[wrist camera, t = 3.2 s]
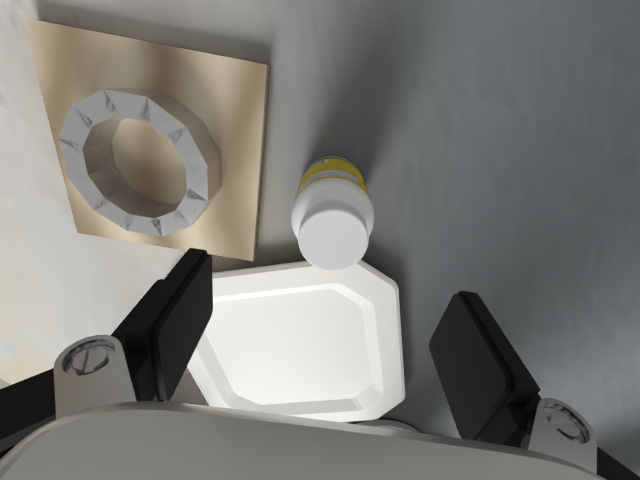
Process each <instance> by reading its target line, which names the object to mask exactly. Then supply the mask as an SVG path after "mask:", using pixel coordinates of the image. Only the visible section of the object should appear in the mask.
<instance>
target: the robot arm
mask: <svg viewBox="0 0 640 480" xmlns="http://www.w3.org/2000/svg"><path fill="white" fill-rule="evenodd" d="M212 312H213V281H212V255H209V254H208V253H207V251H206V250H202V249H196V248H189V249H188V251H187V252H186V253H185V254H184V255H183V257H182V258H181V259H180V260H179V262H178V263H177V264H176V265H175V267H174V268H173V269H172V270H171V272H170V273H169V274H168V275H167V277H166V278H165V279H164V280H163V279H160V280H157V281H156V282H155V283H154V284H153V286H152V287H151V288H150V289H149V290H148V292H147V293H146V294H145V295H144V296H143V298H142V299H141V300H140V301H139V302H138V304H137V305H136V306H135V307H134V308H133V309H132V311H131V312H130V313H129V314H128V315H127V317H126V318H125V319H124V320H123V321H122V323H121V324H120V325H119V326H118V327H117V329H116V330H115V331H114V332H113V333H112V335H111V336H108V335H95V336H91V337H87V338H84V339H82V340H79V341H77V342H75V343H73V344H72V345H70V346H69V347H67V348H66V349H65V350H64V351H63V352H62V353H61V354H60V355H59V356H58V358H57V359H56V361H55V364H54V368H53V369H50V370H48V371H45V372H43V373H40V374H38V375H35V376H33V377H30V378H28V379H25V380H23V381H20V382H18V383H15V384H13V385H10V386H8V387H5V388H3V389H0V480H640V477H639V476H638V475H636V474H635V473H633V472H632V471H631V470H629V469H628V468H626V467H625V466H624V465H622V464H621V463H619V462H618V461H617V460H615V459H614V458H612V457H611V456H610V455H608V454H607V453H605V452H604V451H603V450H601V449H600V448H598V447H597V440H596V435H595V433H594V431H593V429H592V428H591V426H590V425H589V424H588V422H587V421H586V420H585V419H584V418H583V417H582V416H581V415H580V414H579V413H578V412H577V411H576V410H574V409H573V408H571V407H570V406H569V405H567V404H565V403H563V402H561V401H559V400H556V399H553V398H543V399H541V397H540V396H539V394H538V392H539V391H540V388H539V387H538V385H537V383H536V382H535V380H534V379H533V377H532V376H531V374H530V373H529V371H528V370H527V368H526V367H525V365H524V364H523V362H522V361H521V359H520V358H519V356H518V354H517V353H516V351H515V350H514V348H513V347H512V345H511V344H510V342H509V341H508V339H507V338H506V336H505V335H504V333H503V332H502V330H501V329H500V327H499V326H498V324H497V322H496V321H495V319H494V318H493V316H492V315H491V313H490V312H489V310H488V309H487V307H486V306H485V304H484V303H483V301H482V300H481V298H480V297H479V295H478V294H477V293H473V292H467V291H460V292H458V294H454V295H453V297H452V299H451V301H450V303H449V305H448V307H447V308H446V310H445V312H444V314H443V316H442V318H441V320H440V322H439V324H438V326H437V328H436V330H435V332H434V334H433V336H432V338H431V340H430V343H429V349H430V352H431V355H432V358H433V361H434V364H435V367H436V369H437V372H438V375H439V378H440V381H441V384H442V386H443V389H444V392H445V395H446V398H447V401H448V404H449V406H450V409H451V412H452V415H453V418H454V421H455V423H456V426H457V429H458V432H459V434H460V436H461V438H462V439H460V438H452V437H445V436H438V435H431V434H423V433H419V432H418V431H417V430H416V429H414V428H413V427H411V426H409V425H407V424H405V423H402V422H398V421H393V420H383V419H377V420H368V421H363V422H359V423H356V424H349V423H341V422H333V421H326V420H318V419H310V418H303V417H295V416H287V415H279V414H271V413H263V412H255V411H247V410H239V409H231V408H222V407H213V406H204V405H195V404H185V403H174V402H164V400H168V401H169V400H170V399H171V397H172V395H173V393H174V391H175V389H176V387H177V385H178V383H179V381H180V379H181V377H182V375H183V373H184V371H185V369H186V367H187V365H188V363H189V361H190V359H191V357H192V355H193V353H194V351H195V349H196V347H197V345H198V343H199V341H200V339H201V337H202V335H203V333H204V330H205V328H206V326H207V324H208V322H209V320H210V318H211V316H212Z"/></svg>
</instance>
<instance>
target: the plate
mask: <svg viewBox="0 0 640 480" xmlns="http://www.w3.org/2000/svg"><path fill="white" fill-rule="evenodd" d="M212 281H213V312H212V316H211V318H210V320H209V322H208V324H207V326H206V328H205V330H204V333H203V335H202V337H201V339H200V341H199V343H198V345H197V347H196V349H195V351H194V353H193V355H192V357H191V359H190V361H189V363H188V365H187V368H188V369H189V371H190V373H191V375H192V376H193V378H194V380H195V382H196V383H197V385H198V387H199V389H200V390H201V392H202V394H203V396H204V397H205V399H206V401H207V403H208V404H209V406H213V407H222V408H231V409H239V410H247V411H255V412H263V413H271V414H279V415H287V416H295V417H303V418H310V419H318V420H326V421H333V422H348V421H364V420H374V419H378V418H379V417H381V416H382V415H384V414H385V413H386V412H388V411H389V410H391V409H392V408H393V407H395V406H396V405H398V404H399V403H401V402H402V401H403V400H404V398H405V383H404V367H403V352H402V337H401V321H400V306H399V290H398V286H397V284H396V283H395V281H394V280H392V279H391V278H389V277H388V276H386V275H384V274H383V273H381V272H380V271H378V270H377V269H375V268H373V267H372V266H370V265H369V264H367V263H366V262H364V261H363V260H361V259H360V261H358V262H357V263H356V264H355V265H353V266H351V267H349V268H347V269H344V270H339V271H328V270H323V269H320V268H317V267H315V266H313V265H312V264H310V263H309V262H308V261H300V262H292V263H285V264H277V265H269V266H261V267H254V268H246V269H238V270H230V271H223V272H215V273H212Z"/></svg>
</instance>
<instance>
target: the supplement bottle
mask: <svg viewBox="0 0 640 480" xmlns="http://www.w3.org/2000/svg"><path fill="white" fill-rule="evenodd" d="M291 220H292V228H293V231H294V233H295V235H296V237H297V239H298V244H299V248H300V251H301V253H302V255H303V256H304V258H305V259H306V260H307V261H308V262H309V263H310V264H312V265H313V266H315V267H317V268H320V269H323V270H328V271H339V270H344V269H347V268H349V267H351V266H353V265H355V264H356V263H357V262H358V261H360V259H361V258H362V257H363V256H364V254H365V252H366V250H367V247H368V243H369V236H370V234H371V232H372V229H373V225H374V210H373V206H372V202H371V200H370V197H369V194H368V191H367V188H366V185H365V182H364V180H363V177H362V175H361V173H360V171H359V170H358V168H357V167H356V166H355V165H354V164H353V163H351V162H350V161H348V160H346V159H344V158H341V157H335V156H329V157H324V158H321V159H318V160H316V161H315V162H313V163H312V164H311V165H310V166H309V167H308V168H307V169H306V170H305V172H304V174H303V176H302V178H301V181H300V185H299V188H298V192H297V195H296V199H295V202H294V205H293V210H292V217H291Z"/></svg>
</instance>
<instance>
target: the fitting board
mask: <svg viewBox="0 0 640 480" xmlns="http://www.w3.org/2000/svg"><path fill="white" fill-rule="evenodd" d="M23 21H24V25H25V29H26V33H27V37H28V41H29V45H30V49H31V53H32V57H33V60H34V64H35V68H36V72H37V76H38V80H39V84H40V88H41V92H42V96H43V100H44V103H45V107H46V111H47V115H48V119H49V123H50V127H51V131H52V135H53V139H54V142H55V146H56V150H57V154H58V158H59V162H60V166H61V170H62V174H63V178H64V182H65V185H66V189H67V193H68V197H69V201H70V205H71V209H72V213H73V217H74V221H75V224H76V228H77V232H78V233H82V234H88V235H94V236H100V237H107V238H113V239H119V240H125V241H131V242H137V243H143V244H150V245H156V246H162V247H168V248H174V249H180V250H186V251H188V249H189V248H196V249H202V250H206V251H207V253H208V254H211V255H217V256H223V257H229V258H236V259H242V260H248V261H253V260H254V258H255V256H256V249H257V235H258V222H259V209H260V196H261V183H262V169H263V156H264V143H265V130H266V117H267V103H268V90H269V77H270V65H266V64H261V63H256V62H251V61H245V60H240V59H235V58H230V57H225V56H220V55H214V54H209V53H204V52H199V51H194V50H189V49H183V48H178V47H173V46H168V45H163V44H158V43H152V42H147V41H142V40H137V39H132V38H127V37H122V36H116V35H111V34H106V33H101V32H96V31H91V30H85V29H80V28H75V27H70V26H65V25H60V24H54V23H49V22H44V21H39V20H34V19H29V18H23ZM115 88H136V89H141V90H147V91H152V92H158V93H163V94H168V95H171V96H173V97H174V98H175V99H177V100H178V101H179V102H180V103H182V104H183V105H184V106H186V107H187V108H188V109H189V110H191V111H192V112H193V113H195V114H196V115H197V116H198V117H200V118H201V119H202V120H203V121H204V122H205V124H206V126H207V128H208V130H209V132H210V134H211V136H212V138H213V140H214V141H215V143H216V145H217V147H218V149H219V151H220V153H221V155H222V184H221V190H220V191H219V192H218V194H217V195H216V197H215V198H214V200H213V201H212V203H211V204H210V205H209V207H208V208H207V210H206V211H205V212H204V213H203V214H202V215H201V216H200V217H199V218H198V219H197V221H196V222H195V223H194V224H193V225H192V226H190V227H188V228H185V229H182V230H179V231H176V232H173V233H170V234H168V235H165V236H162V237H161V236H155V235H149V234H143V233H137V232H131V231H126V230H125V229H123V228H122V227H120V226H118V225H117V224H115V223H113V222H112V221H110V220H109V219H107V218H105V217H104V216H102V215H100V214H99V213H97V212H95V211H94V210H93V209H92V208H91V207H90V205H89V204H88V203H87V201H86V200H85V199H84V198H83V196H82V195H81V194H80V192H79V191H78V190H77V189H76V187H75V186H74V185H73V184H72V182H71V181H70V180H69V178H68V176H67V172H66V168H65V164H64V160H63V156H62V152H61V148H60V144H59V140H58V138H59V135H60V133H61V130H62V127H63V124H64V122H65V119H66V116H67V114H68V111H69V108H70V105H72V104H74V103H76V102H78V101H80V100H82V99H84V98H87V97H89V96H91V95H93V94H95V93H97V92H99V91H101V90H103V89H115ZM111 142H112V148H113V154H114V160H115V165H116V167H117V168H118V170H119V171H120V172H121V174H122V175H123V177H124V178H125V180H126V181H127V183H128V184H129V186H130V187H132V188H133V189H135V190H136V191H138V192H139V193H141V194H142V195H144V196H146V197H147V198H149V199H150V200H153V201H159V202H165V203H171V204H175V203H177V202H180V201H182V200H183V198H184V196H185V195H186V193H187V184H186V167H185V165H184V164H183V162H182V160H181V158H180V157H179V155H178V153H177V151H176V150H175V148H174V146H173V145H172V143H171V141H170V140H169V139H167V138H166V137H164V136H163V135H162V134H160V133H159V132H158V131H156V130H155V129H154V128H152V127H151V126H150V125H148V124H147V123H145V122H144V121H139V120H134V119H128V118H126V119H124V120H122V121H120V123H119V125H118V127H117V130H116V132H115V134H114V136H113V138H112V141H111Z"/></svg>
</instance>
